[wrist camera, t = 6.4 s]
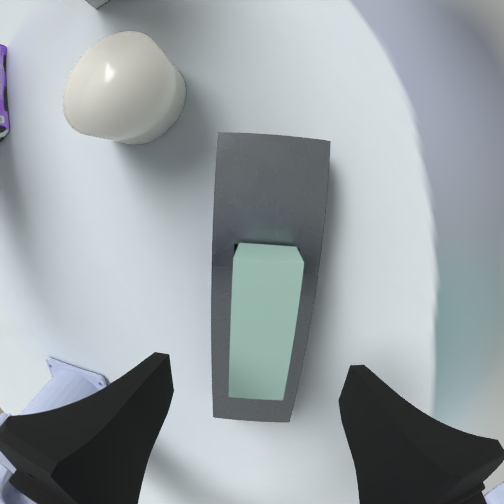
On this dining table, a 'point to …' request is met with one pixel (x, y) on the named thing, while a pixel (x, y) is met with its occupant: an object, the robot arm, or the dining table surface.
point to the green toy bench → (263, 319)
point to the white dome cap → (124, 90)
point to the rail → (269, 233)
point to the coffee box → (96, 2)
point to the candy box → (3, 95)
